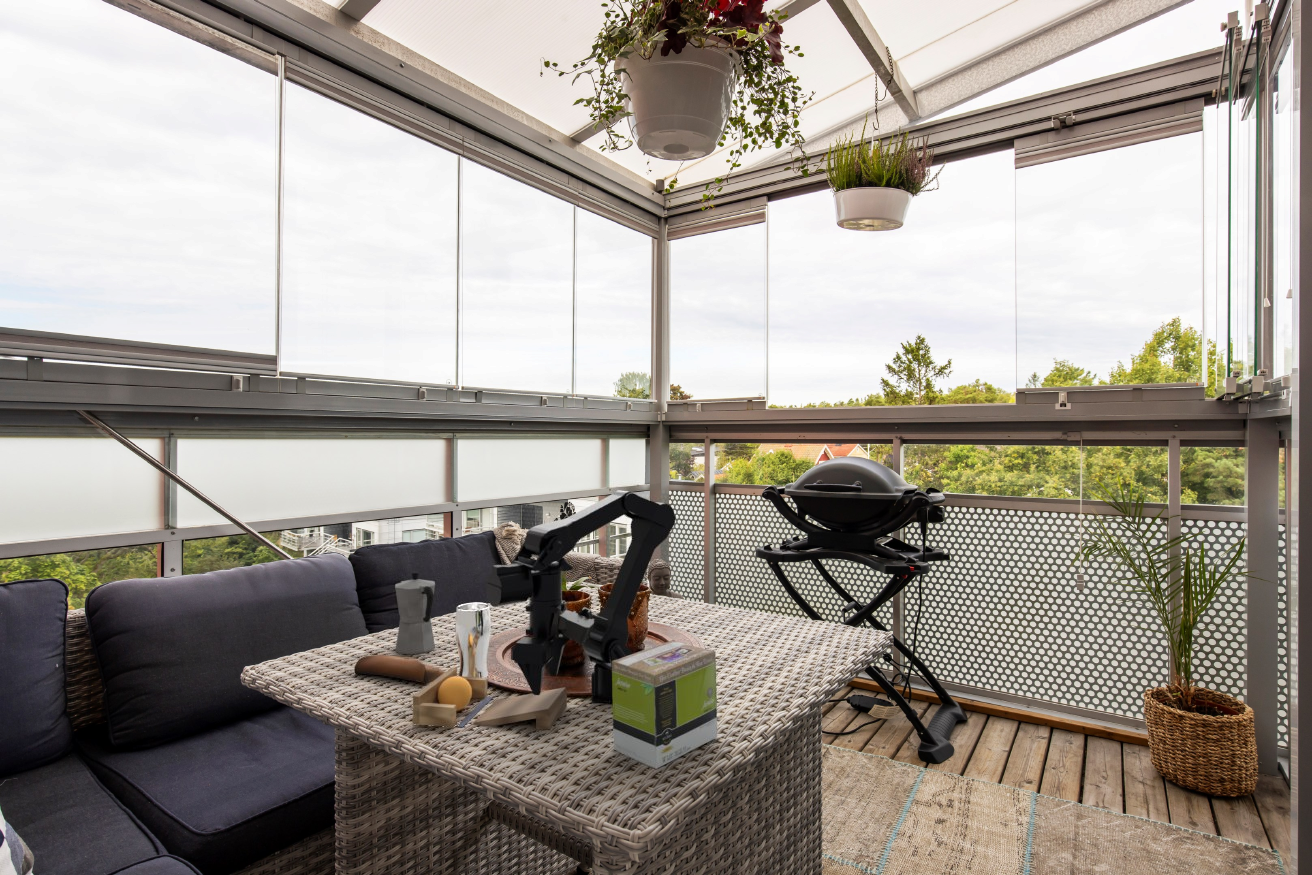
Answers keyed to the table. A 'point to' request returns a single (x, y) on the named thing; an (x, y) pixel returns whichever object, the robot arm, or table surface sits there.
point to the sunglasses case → (397, 668)
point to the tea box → (664, 702)
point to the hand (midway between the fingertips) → (545, 684)
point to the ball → (455, 692)
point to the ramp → (527, 709)
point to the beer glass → (473, 638)
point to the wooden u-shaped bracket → (443, 714)
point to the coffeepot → (415, 615)
